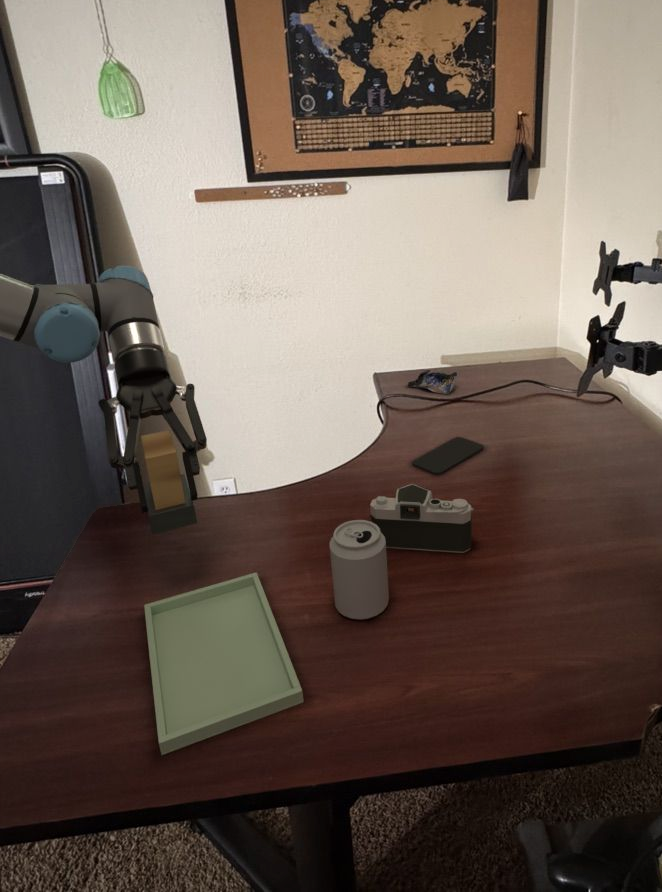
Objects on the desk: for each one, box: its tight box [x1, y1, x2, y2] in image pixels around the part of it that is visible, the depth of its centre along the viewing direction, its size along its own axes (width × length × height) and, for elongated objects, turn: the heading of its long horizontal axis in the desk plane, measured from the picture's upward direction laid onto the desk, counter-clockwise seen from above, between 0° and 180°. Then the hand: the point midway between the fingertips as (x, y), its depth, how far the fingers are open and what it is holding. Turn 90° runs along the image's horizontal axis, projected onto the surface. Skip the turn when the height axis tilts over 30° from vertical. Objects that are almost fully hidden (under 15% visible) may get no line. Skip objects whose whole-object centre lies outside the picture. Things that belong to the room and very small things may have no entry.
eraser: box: [140, 430, 198, 535], centre depth 90 cm, size 10×6×11 cm, turn 24°
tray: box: [143, 572, 305, 756], centre depth 79 cm, size 24×16×2 cm, turn 23°
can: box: [329, 519, 390, 620], centre depth 85 cm, size 8×8×12 cm
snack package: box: [407, 369, 458, 395], centre depth 162 cm, size 12×6×12 cm
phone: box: [411, 436, 484, 476], centre depth 126 cm, size 7×1×15 cm
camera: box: [369, 483, 475, 554], centre depth 99 cm, size 16×9×10 cm, turn 80°
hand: (169, 503), depth 87 cm, fingers closed on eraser, 6 cm apart
